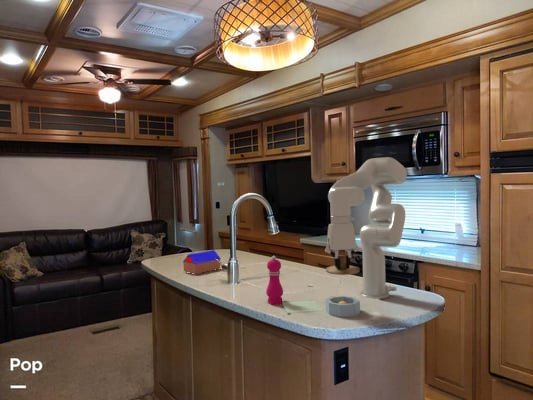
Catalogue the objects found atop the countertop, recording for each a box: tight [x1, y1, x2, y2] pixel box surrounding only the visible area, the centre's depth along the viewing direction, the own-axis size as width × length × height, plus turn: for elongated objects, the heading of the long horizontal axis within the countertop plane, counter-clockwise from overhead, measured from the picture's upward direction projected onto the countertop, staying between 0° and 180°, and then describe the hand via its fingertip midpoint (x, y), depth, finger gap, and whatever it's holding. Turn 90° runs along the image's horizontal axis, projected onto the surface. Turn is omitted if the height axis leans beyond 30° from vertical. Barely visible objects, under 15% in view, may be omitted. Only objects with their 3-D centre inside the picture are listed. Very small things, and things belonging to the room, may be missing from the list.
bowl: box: [325, 295, 361, 318], centre depth 149 cm, size 12×12×5 cm
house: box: [182, 249, 222, 275], centre depth 238 cm, size 12×20×12 cm, turn 138°
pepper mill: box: [265, 255, 284, 305], centre depth 166 cm, size 7×7×20 cm
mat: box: [281, 300, 324, 315], centre depth 158 cm, size 14×14×1 cm
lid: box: [325, 254, 360, 276], centre depth 149 cm, size 13×13×6 cm
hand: (342, 267), depth 149 cm, fingers closed on lid, 3 cm apart
